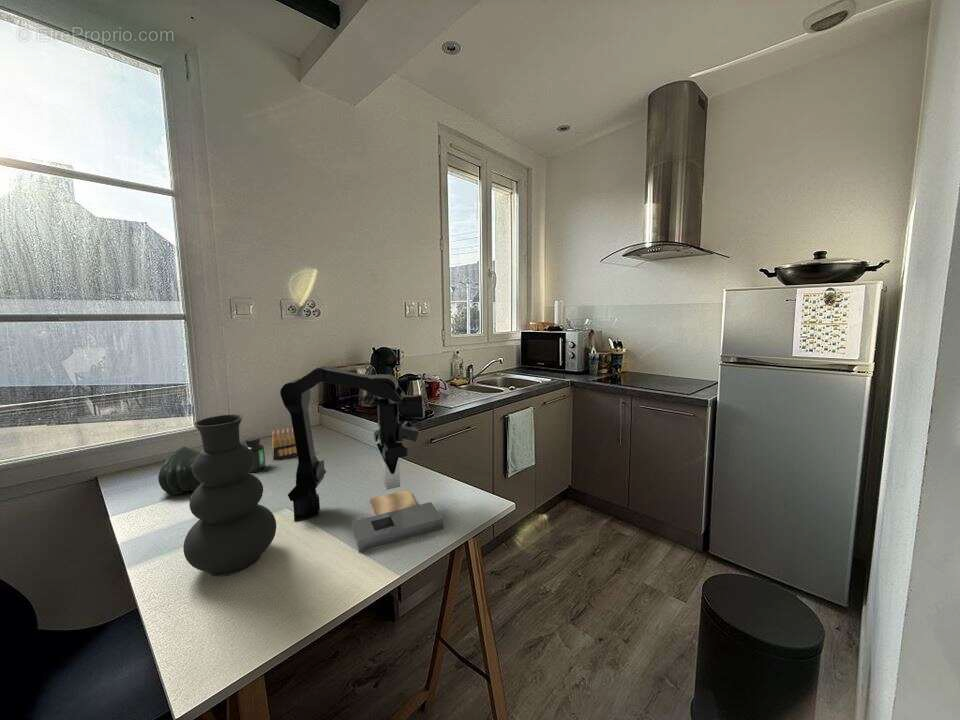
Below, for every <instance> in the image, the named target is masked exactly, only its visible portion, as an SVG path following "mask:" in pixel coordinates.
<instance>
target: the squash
mask: <svg viewBox="0 0 960 720" xmlns="http://www.w3.org/2000/svg"><path fill="white" fill-rule="evenodd" d="M199 453H200V451H199V450H195V449H194V448H191V447H187V446H184V445H183V446H182V447H180V448H179V449H177V450H176V451H175V452H174V453H173V454H171V455H170V456H169V457H168V458H167V459H166V460H165V461H164V463H163V465H161V467H160V469H159V472H158V478H157V479H158V483H159V486H160V488H161V489H162V491H164V492H165V493H166V494H169V495H178V494H182V493H184V492H189V491H192V492H194V491H195V490H196V489H197V487H198V486H199V485H200V484H201V482H199V481H198V480H197V479H196V478H195V477H194V475H193V472H192V465H193V462H194V460H195V458H196V457H197V455H198V454H199Z"/></svg>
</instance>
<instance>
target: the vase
mask: <svg viewBox="0 0 960 720" xmlns="http://www.w3.org/2000/svg"><path fill="white" fill-rule="evenodd" d="M243 418H244V416H243V415H241V414H234V413H233V414H231V413H230V414H220V415H214V416H208V417H205V418H202V419H198V420H196V421H195V422H193V425H194V427H195V428H196V429H197V430H198V431H199V433H200V436H201V442H202V443H201V444H202V447H203V448H202V449H201V450H200V451H199V452H200V453H199V454H198V455H197V457H196V458H195V460H194V462H193V465H192V472H193V475H194V477H195V478H196V479H197V480H198V481H199V482H201V484H200V485H199V486H198V487H197V489H196V490H195V491H192V494H191V496H190V499H189V504H188V505H189V510H190V512H191V514H192V515H193V516H194V517H195V518H197V519H198V520H197V521H196V522H195V523H194V524H193V525H192V526H191V527H190V529H189V530H188V532H187V534H186V536H185V538H184V542H183V546H182V547H183V554H184V557H185V560H186V561H187V563H188V564H189V565H190V566H192V567H193V568H194V569H197V570H198V571H201V572H207V573H208V574H209V575H211V576H217V577H223V576H229V575H233V574H236V573H239V572H242V571H244V570H246V569H249V567H251V566H253V565H255V563H256V562H257V561H259V559H260V558H261V556H262V555H263V553H265V552H266V551H267V550H268V548H269V547H270V545H271V544H272V542H273V540H274V538H275V537H276V532H277V521H276V517H275V515H274V514H273V512H272V511H271V510H270V509H269V508H268V507H266V506H264V505H262V504H259V502H260V501H261V499H262V498H263V495H264V494H263V493H264V486H263V483H262V481H261V480H260V479H259V477H257V476H256V475H254V474H252V473H248V472H249V471H250V470H251V468H252V466H253V463H254V456H253V453H252V451H251V450H250V449H249V448H248V447H247V446H246V445H245V443H243V442H241V441H240V424H241V422H242V420H243Z"/></svg>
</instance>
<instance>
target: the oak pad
mask: <svg viewBox="0 0 960 720" xmlns="http://www.w3.org/2000/svg"><path fill="white" fill-rule="evenodd" d="M369 502H370V503H369V504H370V505H371V507H372V510H373V513H374V516H376V515H380V514H384V513H388V512H392V511H396V510H400V509H404V508H408V507H412V506H416V505H419V504H418V502H417V501H416V499H415V498H414V496H413V495H412V494H411V491H409V489H407V490H402V491H398V492H393V493H389V494H384V495H380V496H377V497H376V496H375V497H371V498H369Z"/></svg>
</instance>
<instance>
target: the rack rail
mask: <svg viewBox="0 0 960 720" xmlns="http://www.w3.org/2000/svg"><path fill="white" fill-rule="evenodd" d="M440 530H444V518H443V516H442V515H441V513H440V512H439V511H438V509H437V508H436V507H435V505H434V504H433V503H432V502H431V501H430V502H425V503H421V504H418V505H416V506H412V507H408V508H404V509H400V510H396V511H392V512H388V513H384V514H380V515H373V516H368V517H365V518H361V519H355V520H352V531H353V532H352V533H353V535H354V540H355V543H356V546H357V550H358V553H362V552H366V551H370V550H373V549H377V548H380V547H384V546H388V545H391V544H395V543H398V542H401V541H404V540H408V539H412V538H415V537H419V536H422V535H425V534H430V533H433V532H436V531H440Z"/></svg>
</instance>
